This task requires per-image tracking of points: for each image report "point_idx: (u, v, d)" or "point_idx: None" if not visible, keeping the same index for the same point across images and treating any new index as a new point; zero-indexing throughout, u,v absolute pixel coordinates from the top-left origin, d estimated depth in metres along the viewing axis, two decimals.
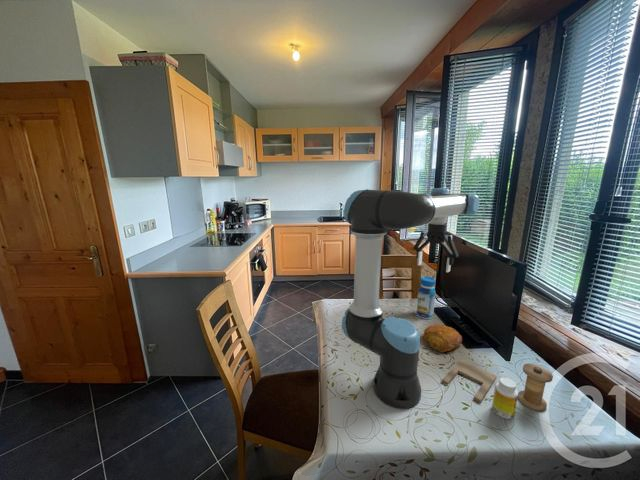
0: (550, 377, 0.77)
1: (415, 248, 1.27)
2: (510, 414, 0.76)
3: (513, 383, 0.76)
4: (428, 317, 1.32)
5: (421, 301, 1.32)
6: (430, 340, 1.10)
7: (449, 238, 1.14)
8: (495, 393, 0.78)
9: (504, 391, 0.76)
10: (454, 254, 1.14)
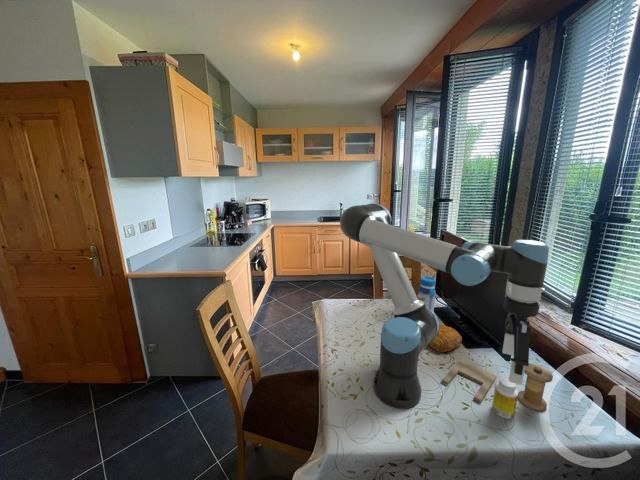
0: (550, 377, 0.77)
1: (505, 326, 0.82)
2: (510, 414, 0.76)
3: (513, 383, 0.76)
4: None
5: None
6: None
7: (517, 327, 0.67)
8: (495, 393, 0.78)
9: (504, 391, 0.76)
10: (516, 356, 0.66)
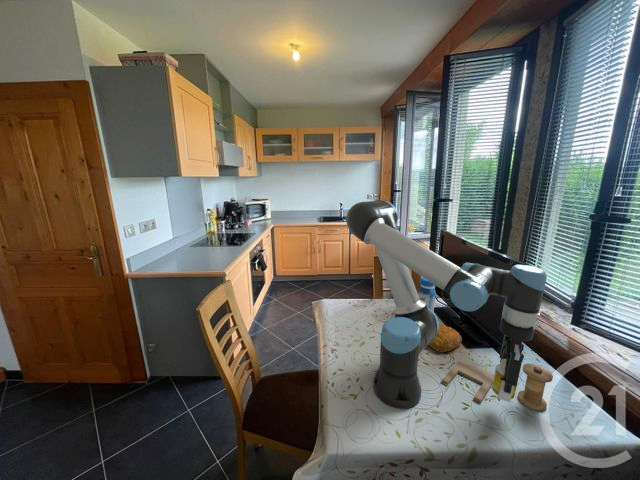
0: (550, 377, 0.77)
1: (500, 355, 0.81)
2: None
3: None
4: None
5: None
6: None
7: (511, 355, 0.70)
8: (496, 374, 0.77)
9: None
10: (506, 377, 0.71)
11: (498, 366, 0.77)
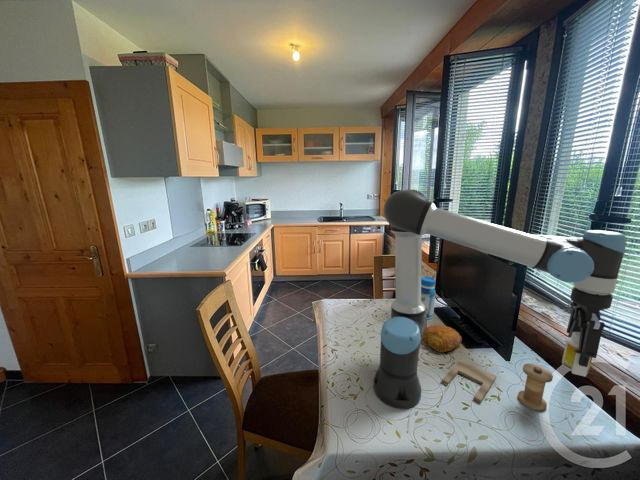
0: (550, 377, 0.77)
1: (568, 330, 0.77)
2: None
3: None
4: (428, 317, 1.32)
5: (421, 301, 1.32)
6: (430, 340, 1.10)
7: (589, 324, 0.66)
8: (567, 348, 0.73)
9: None
10: (583, 349, 0.68)
11: (569, 339, 0.73)
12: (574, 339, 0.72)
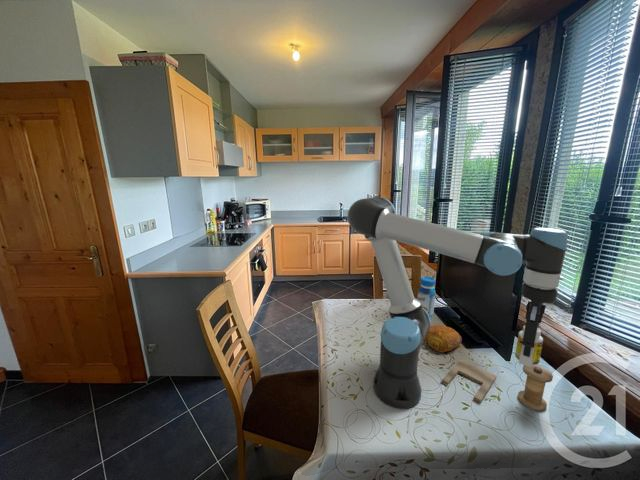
0: (550, 377, 0.77)
1: None
2: (532, 361, 0.74)
3: (538, 330, 0.74)
4: None
5: (421, 301, 1.32)
6: (429, 340, 1.10)
7: (527, 315, 0.70)
8: (518, 339, 0.77)
9: None
10: (523, 339, 0.72)
11: (521, 331, 0.77)
12: (523, 331, 0.76)
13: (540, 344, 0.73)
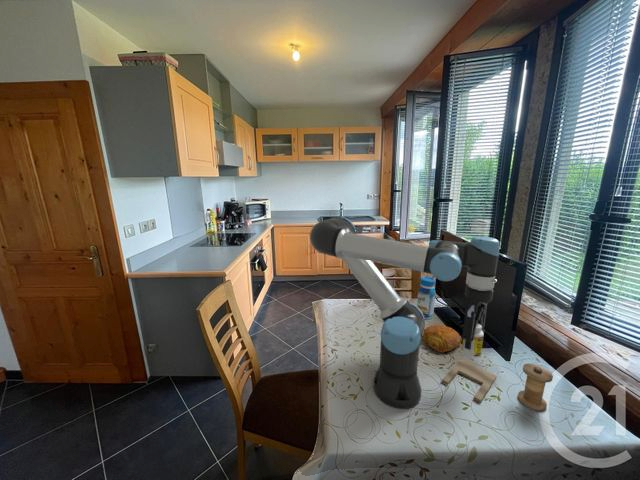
0: (550, 377, 0.77)
1: None
2: (474, 353, 0.84)
3: (479, 326, 0.84)
4: (428, 317, 1.32)
5: (421, 301, 1.32)
6: (429, 340, 1.09)
7: None
8: None
9: None
10: None
11: None
12: None
13: (480, 339, 0.83)
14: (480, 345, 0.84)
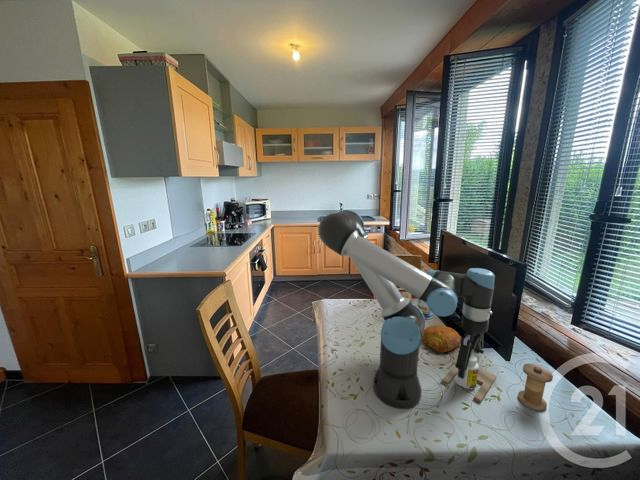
0: (550, 377, 0.77)
1: None
2: (469, 385, 0.87)
3: (474, 359, 0.87)
4: (428, 317, 1.32)
5: (421, 301, 1.32)
6: (429, 340, 1.09)
7: None
8: None
9: None
10: None
11: None
12: None
13: (475, 371, 0.86)
14: (475, 377, 0.86)
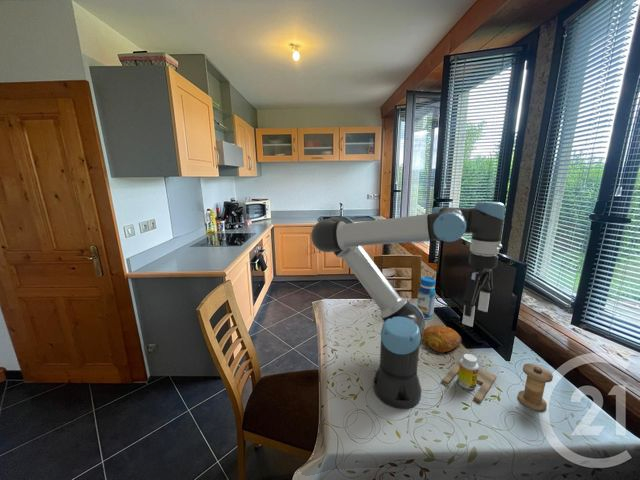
0: (550, 377, 0.77)
1: None
2: (469, 385, 0.87)
3: (474, 359, 0.87)
4: (428, 317, 1.32)
5: (421, 301, 1.32)
6: (429, 340, 1.09)
7: None
8: (459, 365, 0.90)
9: (464, 363, 0.87)
10: None
11: (462, 359, 0.90)
12: (463, 359, 0.88)
13: (475, 371, 0.86)
14: (475, 377, 0.86)
